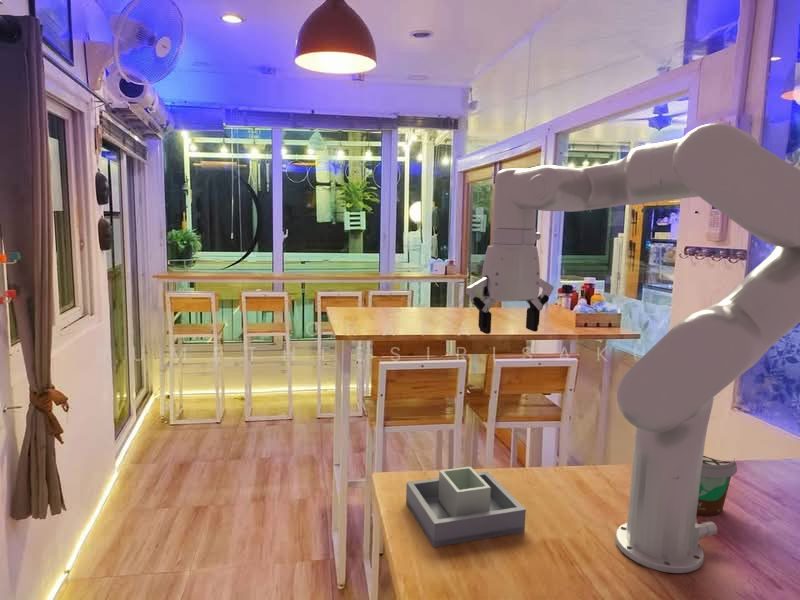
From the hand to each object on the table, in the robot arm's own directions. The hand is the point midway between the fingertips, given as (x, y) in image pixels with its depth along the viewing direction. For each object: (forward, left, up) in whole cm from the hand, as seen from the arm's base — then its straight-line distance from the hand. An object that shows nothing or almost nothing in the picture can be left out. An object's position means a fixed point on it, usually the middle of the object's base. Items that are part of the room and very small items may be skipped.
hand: (508, 331), depth 103 cm
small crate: (+12, +9, -29) cm, 33 cm away
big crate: (+12, +9, -30) cm, 34 cm away
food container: (-29, +18, -31) cm, 46 cm away
